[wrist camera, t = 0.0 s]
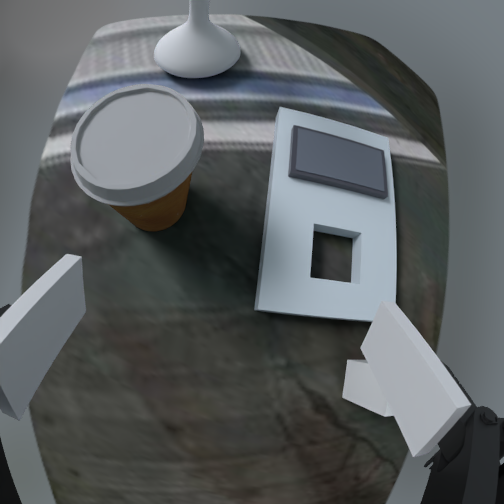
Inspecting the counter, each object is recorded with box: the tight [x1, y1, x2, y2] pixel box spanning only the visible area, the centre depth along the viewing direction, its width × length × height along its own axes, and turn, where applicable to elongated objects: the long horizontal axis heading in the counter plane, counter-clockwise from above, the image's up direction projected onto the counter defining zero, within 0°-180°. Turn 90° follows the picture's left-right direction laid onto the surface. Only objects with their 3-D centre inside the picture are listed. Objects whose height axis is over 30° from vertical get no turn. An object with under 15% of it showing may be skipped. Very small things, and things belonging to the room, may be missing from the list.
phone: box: [288, 125, 388, 199], centre depth 30 cm, size 6×11×1 cm, turn 83°
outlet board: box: [254, 107, 397, 322], centre depth 30 cm, size 22×14×2 cm, turn 173°
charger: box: [342, 360, 394, 417], centre depth 24 cm, size 4×4×8 cm
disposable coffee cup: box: [71, 84, 204, 231], centre depth 23 cm, size 10×10×12 cm
